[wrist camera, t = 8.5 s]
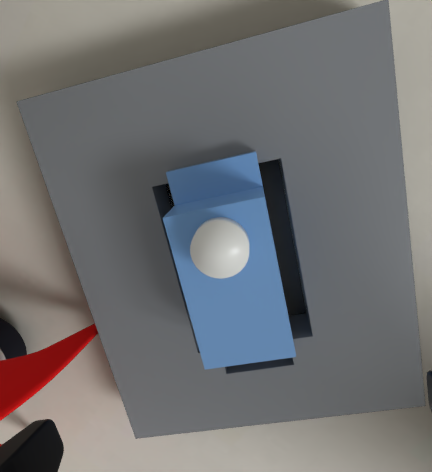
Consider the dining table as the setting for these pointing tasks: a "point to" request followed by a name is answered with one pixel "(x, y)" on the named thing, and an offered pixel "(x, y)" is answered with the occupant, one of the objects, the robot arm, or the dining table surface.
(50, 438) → the robot arm
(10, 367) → the rocket
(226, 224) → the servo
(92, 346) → the dining table surface
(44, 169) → the plate
